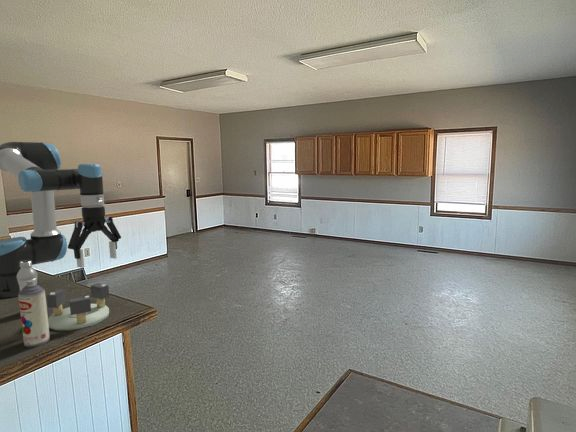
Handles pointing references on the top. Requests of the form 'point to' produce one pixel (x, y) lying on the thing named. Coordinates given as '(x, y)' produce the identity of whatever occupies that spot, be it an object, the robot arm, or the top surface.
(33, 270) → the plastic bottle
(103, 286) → the grey block on peg
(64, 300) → the dark grey rectangular block
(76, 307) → the knob front
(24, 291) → the aerosol can
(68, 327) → the base
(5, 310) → the top surface
